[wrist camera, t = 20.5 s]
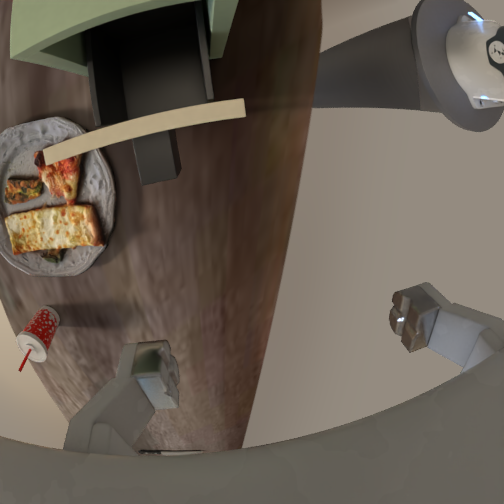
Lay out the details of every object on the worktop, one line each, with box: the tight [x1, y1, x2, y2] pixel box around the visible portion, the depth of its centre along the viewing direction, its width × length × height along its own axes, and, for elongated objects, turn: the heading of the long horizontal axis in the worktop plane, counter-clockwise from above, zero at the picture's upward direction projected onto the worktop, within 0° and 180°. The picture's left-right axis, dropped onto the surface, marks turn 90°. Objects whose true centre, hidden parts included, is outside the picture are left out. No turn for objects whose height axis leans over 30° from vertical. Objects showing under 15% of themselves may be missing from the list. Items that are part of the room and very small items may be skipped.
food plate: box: [0, 117, 116, 277], centre depth 33 cm, size 25×23×4 cm
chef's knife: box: [138, 450, 203, 455], centre depth 66 cm, size 19×1×3 cm
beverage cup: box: [16, 306, 60, 372], centre depth 36 cm, size 6×6×14 cm
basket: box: [43, 0, 246, 186], centre depth 22 cm, size 17×14×18 cm
